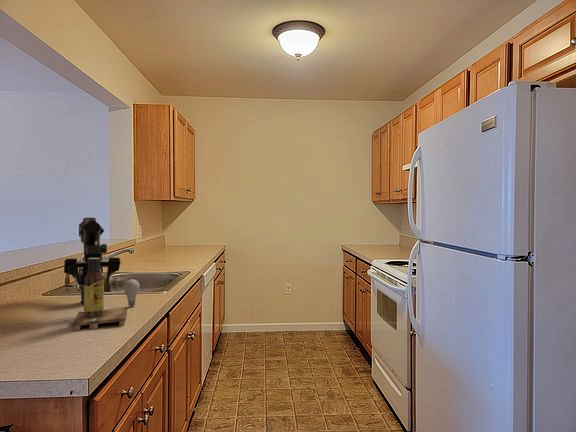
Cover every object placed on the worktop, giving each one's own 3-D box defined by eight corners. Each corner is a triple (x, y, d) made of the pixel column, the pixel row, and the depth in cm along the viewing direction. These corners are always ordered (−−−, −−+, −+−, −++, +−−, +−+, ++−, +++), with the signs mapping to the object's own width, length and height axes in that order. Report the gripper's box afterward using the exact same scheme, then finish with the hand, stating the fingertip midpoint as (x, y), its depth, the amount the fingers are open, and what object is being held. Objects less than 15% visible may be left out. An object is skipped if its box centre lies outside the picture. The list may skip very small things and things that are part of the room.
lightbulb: (126, 309, 154) (126, 281, 154) (121, 306, 159) (121, 279, 159) (142, 306, 158) (141, 279, 158) (136, 303, 163) (136, 277, 163)
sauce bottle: (96, 318, 133) (95, 259, 133) (79, 317, 134) (78, 259, 134) (108, 313, 139) (107, 257, 139) (92, 312, 140) (91, 256, 140)
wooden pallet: (72, 330, 128) (72, 322, 128) (78, 319, 141) (78, 312, 141) (125, 325, 134) (125, 318, 134) (127, 314, 147) (127, 307, 147)
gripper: (65, 236, 143) (65, 272, 134) (120, 236, 153) (124, 269, 143) (64, 255, 150) (63, 290, 141) (117, 254, 160) (120, 286, 150)
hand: (93, 283), depth 144 cm, fingers open, 9 cm apart
